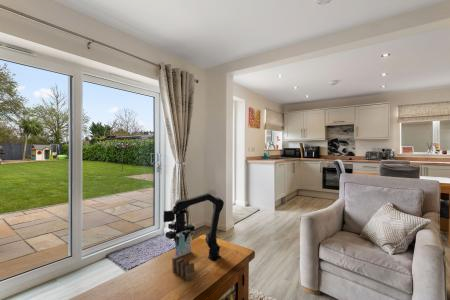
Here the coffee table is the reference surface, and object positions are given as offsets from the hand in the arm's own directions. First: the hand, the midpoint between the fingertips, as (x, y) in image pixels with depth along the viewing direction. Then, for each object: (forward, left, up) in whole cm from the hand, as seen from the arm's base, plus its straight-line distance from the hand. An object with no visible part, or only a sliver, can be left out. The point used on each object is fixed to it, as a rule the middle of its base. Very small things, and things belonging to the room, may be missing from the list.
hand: (180, 244), depth 136 cm
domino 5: (+6, +17, -12) cm, 22 cm away
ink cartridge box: (-9, -11, -13) cm, 19 cm away
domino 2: (0, 0, -3) cm, 3 cm away
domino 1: (+6, +4, -12) cm, 14 cm away
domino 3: (+6, +8, -12) cm, 16 cm away
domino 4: (+6, +12, -12) cm, 18 cm away
